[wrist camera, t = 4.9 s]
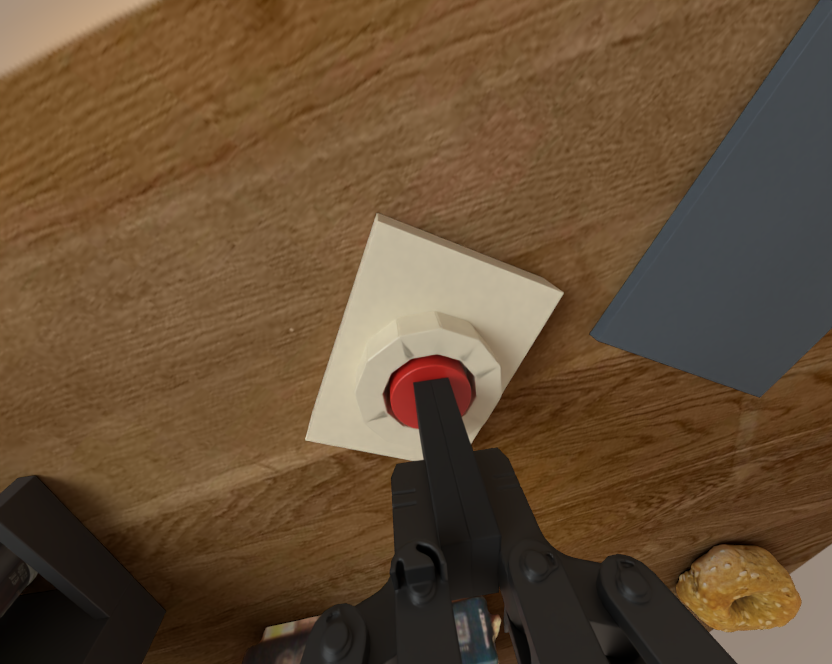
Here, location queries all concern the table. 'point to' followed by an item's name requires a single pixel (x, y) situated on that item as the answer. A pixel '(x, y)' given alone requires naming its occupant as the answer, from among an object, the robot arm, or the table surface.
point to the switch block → (424, 334)
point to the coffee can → (12, 577)
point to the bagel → (739, 589)
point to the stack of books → (285, 643)
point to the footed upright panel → (69, 589)
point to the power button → (423, 371)
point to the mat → (746, 238)
